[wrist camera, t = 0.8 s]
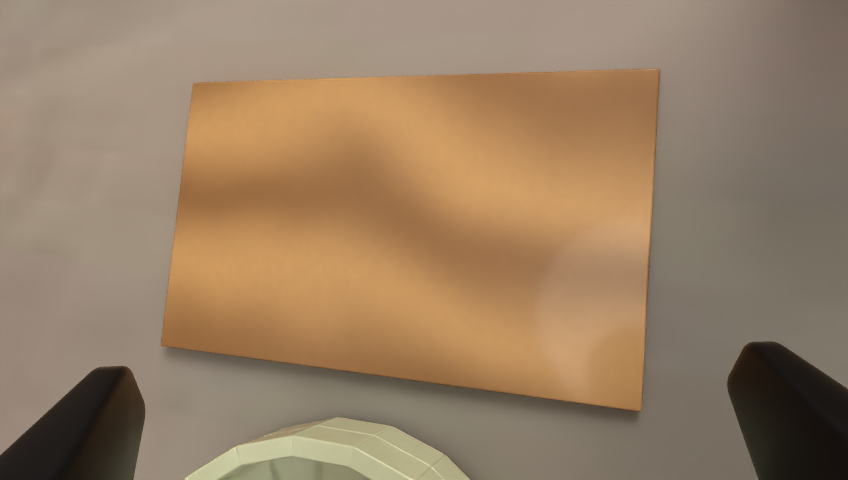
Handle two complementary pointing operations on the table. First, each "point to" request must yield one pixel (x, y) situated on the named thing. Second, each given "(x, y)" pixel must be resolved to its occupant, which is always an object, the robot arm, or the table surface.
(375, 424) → the bowl
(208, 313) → the mat
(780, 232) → the table surface
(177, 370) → the table surface
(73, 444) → the robot arm
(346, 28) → the table surface
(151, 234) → the table surface
